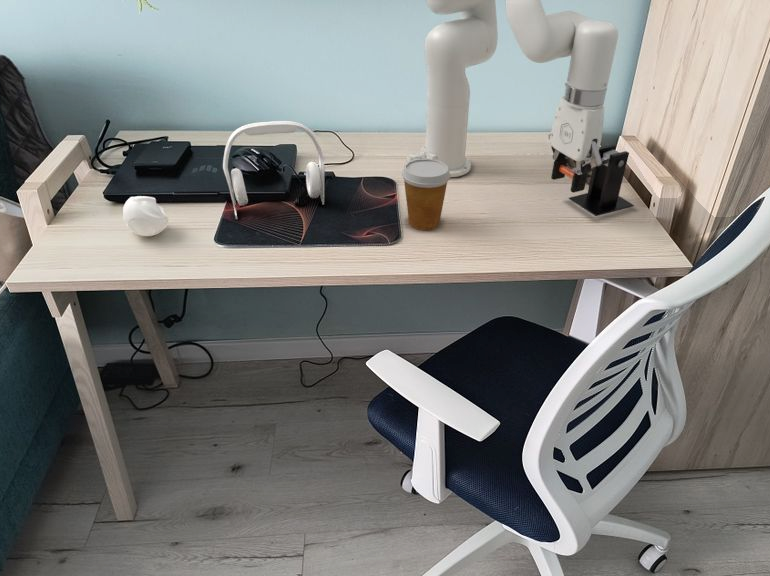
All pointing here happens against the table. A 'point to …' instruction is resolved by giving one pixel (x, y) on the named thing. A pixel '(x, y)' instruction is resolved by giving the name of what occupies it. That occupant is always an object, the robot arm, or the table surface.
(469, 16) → the robot arm
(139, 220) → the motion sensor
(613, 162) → the stand
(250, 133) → the headset
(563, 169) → the lever
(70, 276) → the table surface
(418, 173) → the disposable coffee cup
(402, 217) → the table surface
